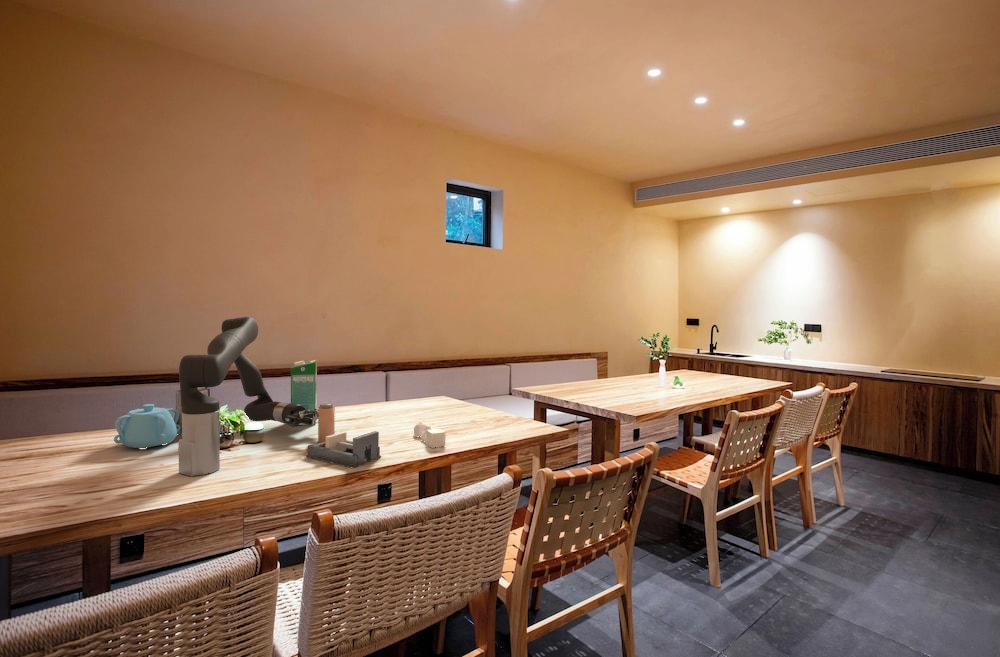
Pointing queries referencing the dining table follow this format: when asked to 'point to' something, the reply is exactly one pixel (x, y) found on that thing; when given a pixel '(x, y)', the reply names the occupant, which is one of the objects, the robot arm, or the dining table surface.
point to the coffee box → (179, 407)
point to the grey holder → (349, 451)
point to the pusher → (338, 442)
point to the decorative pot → (147, 427)
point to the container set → (430, 435)
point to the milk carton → (304, 385)
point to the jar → (326, 421)
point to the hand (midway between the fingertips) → (321, 419)
